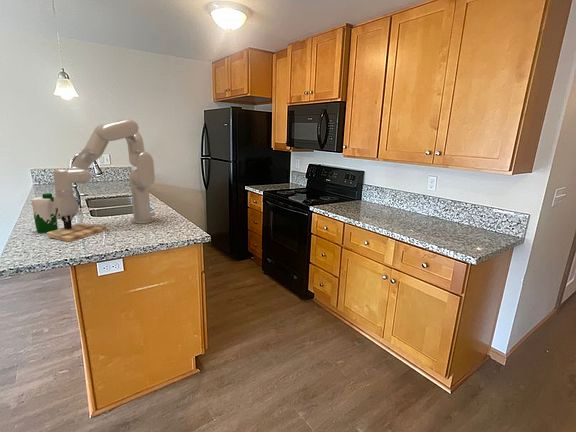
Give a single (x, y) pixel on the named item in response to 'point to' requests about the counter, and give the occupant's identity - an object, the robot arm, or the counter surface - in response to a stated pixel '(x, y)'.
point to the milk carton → (44, 213)
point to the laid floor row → (82, 233)
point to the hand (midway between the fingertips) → (68, 228)
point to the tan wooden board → (68, 230)
